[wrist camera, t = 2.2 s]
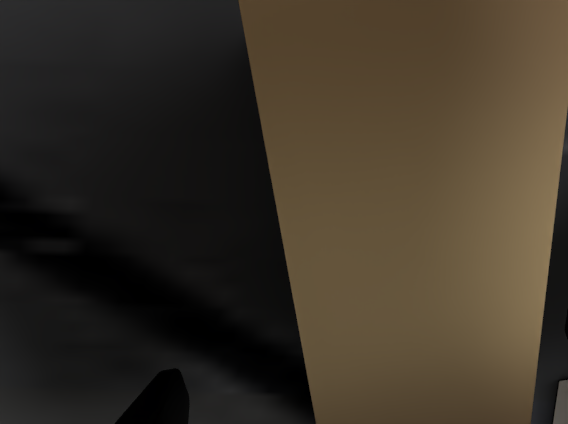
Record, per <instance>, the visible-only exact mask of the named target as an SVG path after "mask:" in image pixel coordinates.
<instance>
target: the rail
mask: <svg viewBox="0 0 568 424" xmlns="http://www.w3.org/2000/svg"><path fill="white" fill-rule="evenodd" d="M238 1H239V7H240V12H241V18H242V23H243V28H244V34H245V39H246V45H247V50H248V56H249V61H250V67H251V72H252V77H253V83H254V88H255V94H256V99H257V105H258V110H259V116H260V121H261V126H262V132H263V137H264V143H265V148H266V154H267V159H268V165H269V170H270V175H271V181H272V186H273V192H274V197H275V203H276V208H277V214H278V219H279V224H280V230H281V235H282V241H283V246H284V252H285V257H286V262H287V268H288V273H289V279H290V284H291V290H292V295H293V301H294V306H295V311H296V317H297V322H298V328H299V333H300V339H301V344H302V350H303V355H304V360H305V366H306V371H307V377H308V382H309V388H310V393H311V399H312V404H313V409H314V415H315V420H316V424H531V415H532V407H533V398H534V390H535V381H536V373H537V364H538V356H539V347H540V338H541V330H542V321H543V313H544V304H545V296H546V287H547V279H548V270H549V262H550V253H551V245H552V236H553V227H554V219H555V210H556V202H557V193H558V185H559V176H560V168H561V159H562V151H563V142H564V134H565V125H566V117H567V108H568V0H238Z"/></svg>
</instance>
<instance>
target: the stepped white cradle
mask: <svg viewBox="0 0 568 424" xmlns="http://www.w3.org/2000/svg"><path fill="white" fill-rule="evenodd" d="M553 424H568V380H563V381H559V387H558V393H557V400H556V407H555V414H554V420H553Z"/></svg>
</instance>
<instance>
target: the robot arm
mask: <svg viewBox="0 0 568 424" xmlns="http://www.w3.org/2000/svg"><path fill="white" fill-rule="evenodd" d="M565 333H566V336H567V339H568V310H567V317H566V324H565ZM188 418H189V395H188V392H187V389H186V386H185V383H184V380H183V377H182V375H181V372H180V371H179V369H176V368H175V369H169V370H163V371H161V372H159V373H158V374H157V375H156V376H155V378H154V379H153V380H152V381H151V382H150V383H149V384H148V386H147V387H146V388H145V389H144V390H143V391H142V393H141V394H140V395H139V396H138V397H137V398H136V399H135V401H134V402H133V403H132V404H131V405H130V406H129V408H128V409H127V410H126V411H125V412H124V413H123V414H122V416H121V417H120V418H119V419H118V420H117V421H116V422H115V424H188Z"/></svg>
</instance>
